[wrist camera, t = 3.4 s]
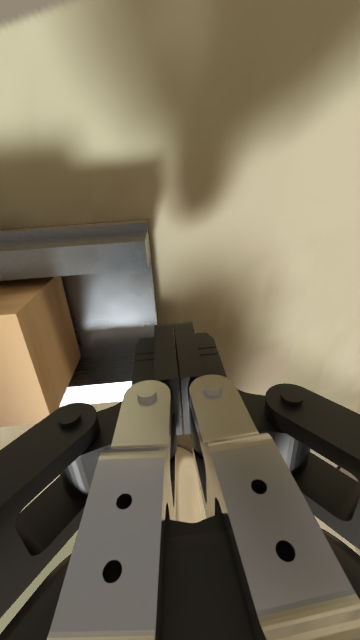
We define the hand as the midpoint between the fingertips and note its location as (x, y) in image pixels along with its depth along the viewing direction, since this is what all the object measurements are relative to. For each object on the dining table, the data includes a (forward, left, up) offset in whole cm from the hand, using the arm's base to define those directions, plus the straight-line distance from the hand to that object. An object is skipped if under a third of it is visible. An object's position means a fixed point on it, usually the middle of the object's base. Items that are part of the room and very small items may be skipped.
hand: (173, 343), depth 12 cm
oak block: (+7, +4, -4) cm, 9 cm away
